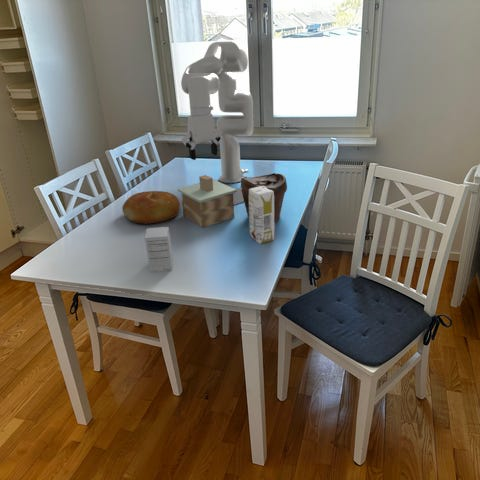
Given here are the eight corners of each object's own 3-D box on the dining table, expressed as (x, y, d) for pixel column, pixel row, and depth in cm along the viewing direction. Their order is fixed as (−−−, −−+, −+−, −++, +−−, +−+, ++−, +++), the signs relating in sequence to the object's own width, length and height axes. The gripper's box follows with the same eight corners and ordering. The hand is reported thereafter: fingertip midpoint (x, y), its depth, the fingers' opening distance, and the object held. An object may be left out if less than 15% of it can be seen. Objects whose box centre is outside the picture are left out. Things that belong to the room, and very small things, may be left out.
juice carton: (258, 245, 157) (257, 195, 149) (247, 236, 164) (245, 188, 156) (277, 240, 160) (276, 191, 152) (265, 231, 167) (264, 184, 159)
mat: (238, 188, 211) (238, 187, 211) (259, 197, 199) (259, 196, 199) (210, 196, 203) (210, 195, 202) (230, 206, 191) (230, 205, 191)
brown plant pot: (294, 210, 184) (293, 169, 176) (277, 230, 168) (275, 185, 160) (254, 205, 191) (252, 165, 183) (234, 224, 175) (231, 181, 167)
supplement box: (151, 261, 150) (146, 227, 144) (173, 259, 151) (169, 226, 145) (149, 272, 144) (144, 237, 138) (172, 270, 144) (167, 236, 138)
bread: (150, 202, 200) (147, 181, 196) (191, 210, 189) (189, 188, 184) (113, 220, 183) (109, 198, 178) (156, 231, 172) (153, 207, 167)
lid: (213, 181, 188) (212, 167, 185) (236, 192, 175) (235, 177, 173) (177, 191, 179) (176, 176, 176) (199, 202, 167) (198, 187, 164)
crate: (214, 206, 191) (212, 182, 186) (234, 217, 180) (233, 192, 175) (184, 216, 184) (181, 191, 179) (203, 227, 173) (200, 201, 168)
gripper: (214, 107, 170) (217, 151, 178) (174, 113, 161) (179, 159, 169) (225, 109, 165) (227, 154, 172) (185, 115, 156) (189, 163, 163)
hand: (203, 156), depth 170 cm, fingers open, 9 cm apart
